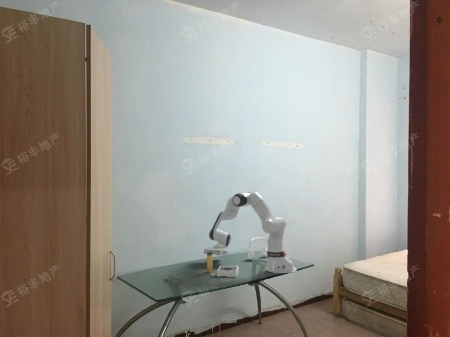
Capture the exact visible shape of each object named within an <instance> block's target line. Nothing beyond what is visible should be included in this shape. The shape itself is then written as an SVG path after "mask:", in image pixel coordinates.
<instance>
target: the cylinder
mask: <svg viewBox="0 0 450 337" xmlns="http://www.w3.org/2000/svg"><path fill="white" fill-rule="evenodd" d="M206 262H207V263H206V265H207V268H206V269H207V272H206V273H207V274H212V273H213V272H214V271H213V270H214V269H213V268H214V266H213V254H212V252H207V254H206Z"/></svg>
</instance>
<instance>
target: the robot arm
mask: <svg viewBox="0 0 450 337" xmlns="http://www.w3.org/2000/svg"><path fill="white" fill-rule="evenodd" d="M248 206H251V208H253V210H254V212H255V213H256V215H257V216H258V218H259V220H260V221H261V229H262V230H263V233H265V234H268V235H269V236H268V238H267V240H266V242H267V246H268V251H267V256H266V258H267V260H266V261H267V263H266V267H265V270H266V271H267V272H270V273H273V274H290V273H291V274H294V273H296V272H297V267H295V266H294V264H293V261H292V260H291V259H290V258H288V257H287V256H286V255H287V253H286V252H285V251H284V250H283V240H284V234H285V233H284V232H285V229H286V227H287V221H286V219H285V218H284V217H281V216H276V217H275V216H274V215H273V212H272V208H271V206H270V205H269V204H268V202H267V201H266V200H265V198H264V197H262V195H261V194H260V193H259V192H257V191H254V192H250V191H249V192H247V191H246V192H239V193H235V194H234V195H233V196H230V197H229V198H228V200H227V203H226V206H225V208H224V210H223V211H220V212H219V214H218V215H217V218H216V219H215V221H214V224H213V226H212V227H211V229H210V231H209V233H208V237H209V239H210V240H211V241H214V242H215V241H216V242H217V243H216V244H215V245H214V246H212V247H205V248H204V249H203V254H204V255H207V252H212V255H216V256H222V255H223V256H224V255H225V256H228V255H229V254H230V252H229V249H230V248H229V245H230V243H231V240H232V236H231V234H230V232H229V233H228V232H227V231H224V230H220V229H219V227H220V224H221V222H223V221H232V220H234V219H236V218H237V216H238V214H239V212H240V208H241V207H248Z"/></svg>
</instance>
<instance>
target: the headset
mask: <svg viewBox="0 0 450 337" xmlns="http://www.w3.org/2000/svg"><path fill="white" fill-rule="evenodd" d="M261 240H264V244H265V246H263V247H262V249H261V254H262V255H263V257H267V251H268V243H267V240H266V238H264V237H262V236H259V237H253V238H251V239H250V241H249V243H248V247H247V259H248V260H252V259H253V258H254V257H255V252H254V250H253V249H251V244H252V243H253V242H256V241H261Z"/></svg>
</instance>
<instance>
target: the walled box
mask: <svg viewBox="0 0 450 337" xmlns="http://www.w3.org/2000/svg"><path fill="white" fill-rule="evenodd" d="M239 269H240V268H239V266H238V265H235V266H234V265H219V267H218V269H217V270H216V277H220V276H226V278H227V277H228V278H229V277H230V278H237V277H238V274H239V271H240V270H239Z"/></svg>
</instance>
